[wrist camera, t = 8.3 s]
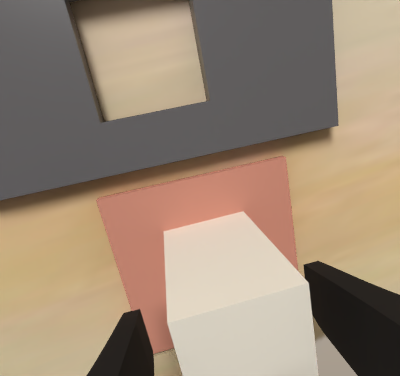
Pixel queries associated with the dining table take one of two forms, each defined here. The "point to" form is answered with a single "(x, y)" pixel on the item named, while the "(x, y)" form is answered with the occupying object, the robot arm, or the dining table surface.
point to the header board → (165, 119)
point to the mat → (186, 215)
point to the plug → (236, 302)
